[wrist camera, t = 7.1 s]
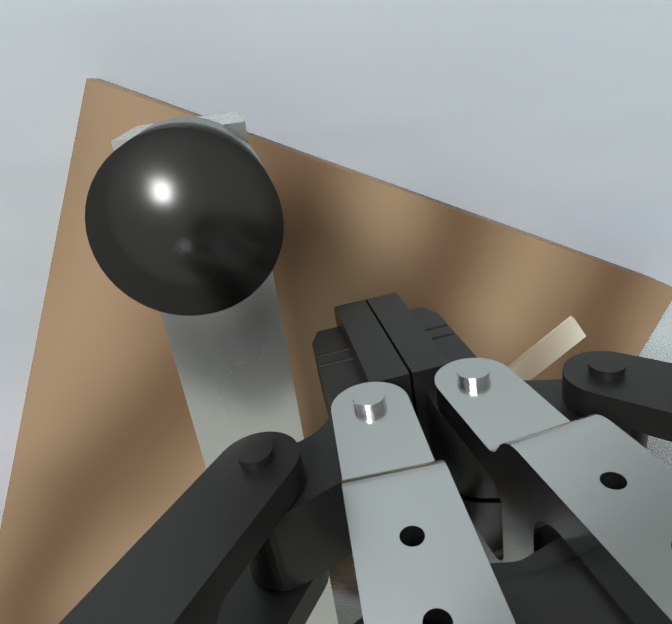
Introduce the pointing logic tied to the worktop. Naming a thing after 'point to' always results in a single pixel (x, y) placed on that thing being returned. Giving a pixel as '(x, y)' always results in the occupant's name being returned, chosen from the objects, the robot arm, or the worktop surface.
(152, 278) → the lever
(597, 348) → the dial plate
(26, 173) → the worktop surface
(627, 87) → the worktop surface
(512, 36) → the worktop surface
